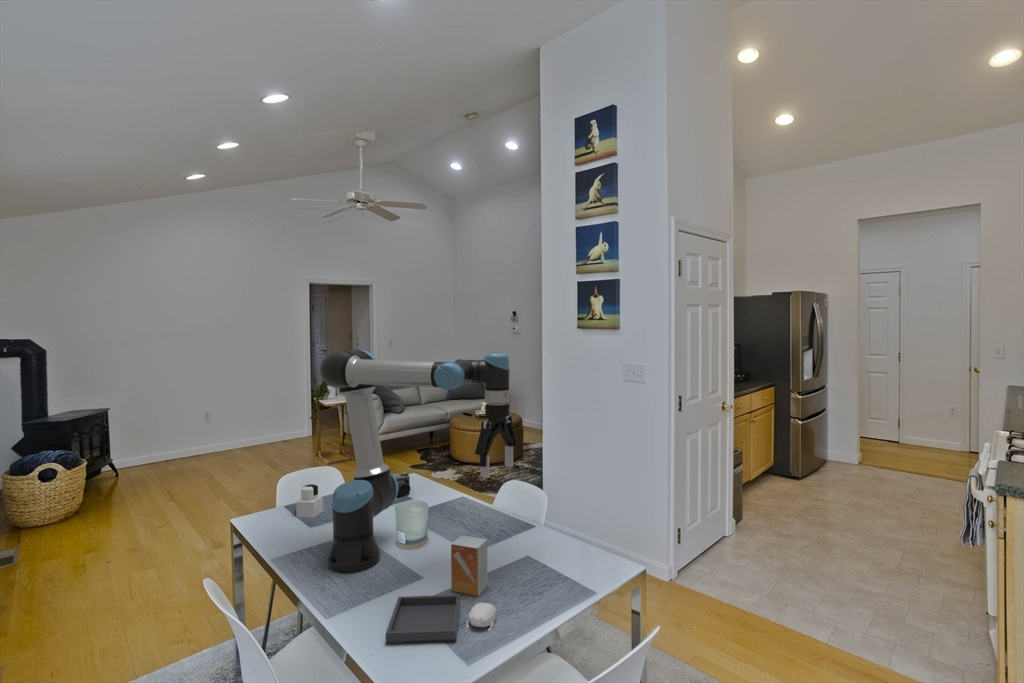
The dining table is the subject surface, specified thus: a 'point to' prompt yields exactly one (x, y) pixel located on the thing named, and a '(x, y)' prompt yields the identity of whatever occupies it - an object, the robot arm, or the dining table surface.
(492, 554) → the dining table surface
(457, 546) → the small box
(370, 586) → the dining table surface
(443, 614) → the holder
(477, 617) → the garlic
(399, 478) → the camera
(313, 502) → the medicine bottle
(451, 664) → the dining table surface
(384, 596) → the dining table surface
